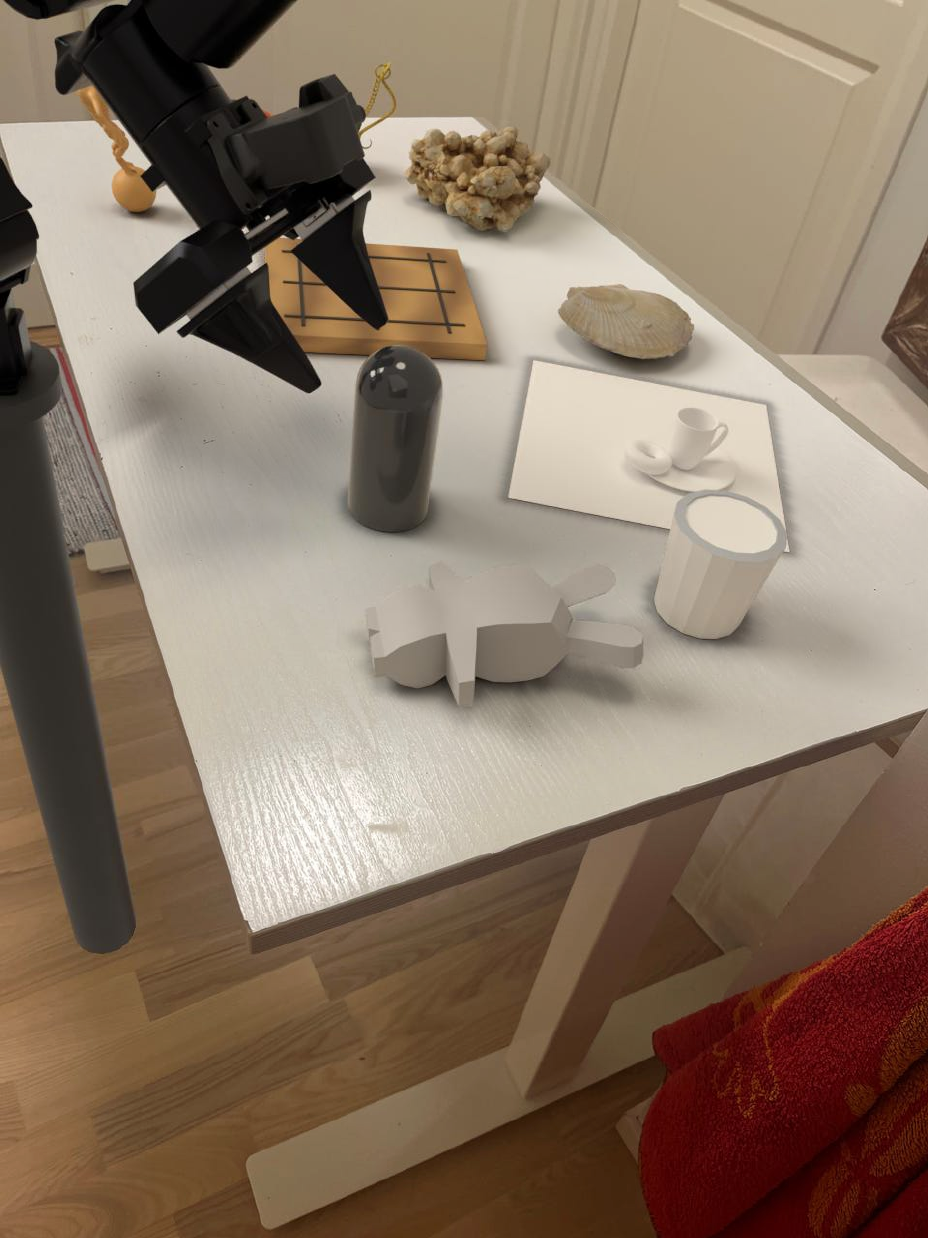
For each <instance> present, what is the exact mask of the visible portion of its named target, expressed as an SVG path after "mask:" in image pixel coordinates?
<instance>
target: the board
mask: <svg viewBox="0 0 928 1238" xmlns="http://www.w3.org/2000/svg"><path fill="white" fill-rule="evenodd" d="M301 242H302V240H301V238H296V239H295V240H292V239H290V238H288V237H280V238H278V239H277V240H275V241H274V242H272V243H271V244H269V245H268V246H266V247H265V248H264V264H265V263H267V264H268V268H269V285H270V298H271V301H272V303H273V306H274V307H275V308H276V310H277V311H278V313H279V314H280V316H281V317H282V319H283V320H284V322H285V323H286V325H287V326H288V328H289V329H290V331H291V333H292V334H293V336H294V337H295V339H296V340H297V342H298V343H299V345H300V346H301V348H302V349H303V351H304V352H305V353H313V354H315V353H317V354H336V355H338V354H340V355H360V356H370V355H371V354H373V353H374V352H375V351H377V350H379V349H381V348H383V347H386V346H391V345H407V346H411V347H414V348H416V349H418V350H420V351H422V352H423V353H425V354H426V355H427V356H428V357H430V359H444V360H445V359H446V360H447V359H449V360H470V361H471V360H472V361H486V357H487V351H488V345H489V344H488V342H487V338H486V334H485V332H484V329H483V326H482V323H481V320H480V319H481V318H480V316H479V313H478V309H477V307H476V304H475V301H474V297H473V295H472V291H471V288H470V284H469V282H468V278H467V276H466V273H465V272H466V271H465V269H464V266H463V263H462V259H461V257H460V254H459V250H458V249H454V248H441V247H425V246H410V245H396V244H395V245H394V244H381V243H366V242H365V243H366V247H367V251H368V255H369V258H370V262H371V265H372V268H373V271H374V274H375V277H376V280H377V284H378V287H379V290H380V293H381V296H382V299H383V302H384V306H385V309H386V312H387V315H388V318H389V320H388V323H387V324H385V325H384V326H382V327H381V328H379V329H374V328H373V327H372V326H370V325H369V324H368V323H367V322H366V321H364V320H363V319H362V318H361V317H359V316H358V315H357V314H356V313H355V312H354V311H353V310H352V309H351V308H350V307H349V306H347V305H346V304H345V303H344V302H343V301H342V300H341V299H340V298H339V297H338V296H337V295H336V294H335V293H334V292H333V291H332V290H331V289H330V288H328V287H327V286H326V285H325V284H324V283H323V282H322V281H321V280H320V279H319V278H318V277H317V276H316V275H315V274H314V273H312V272H311V271H310V270H309V269H308V268H307V267H306V266H305V265H304V264H303V263H302V262H301V261H300V260H299V259H298V258H297V257H296V256H295V255H294V254H292V252H291V250H292V249H293V248H294V247H296V246H297V245H298V244H300V243H301Z"/></svg>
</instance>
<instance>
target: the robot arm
mask: <svg viewBox="0 0 928 1238" xmlns="http://www.w3.org/2000/svg"><path fill="white" fill-rule="evenodd" d="M2 1H3V2H4V3H5V4H6V5H7V6H8V7H10V8H11V9H12V10H13V11H15V12H16V13H18V14H20V15H22V16H24V18H25V17H26V18H28V19H31V20H36V21H39V20H48V19H52V18H55V17H58V16H61V15H65V14H66V15H67V14H70V13H73V12H74V13H75V12H77V11H81V10H85V9H88V8H89V9H90V8H93V7H96V6H100V5H104V4H107V3H111V2H114V1H115V0H2ZM298 1H299V0H129V2H128V3H127V4H119V3H117V4H116V3H115V4H109V5H107V6H104V7H103V8H101V9H100V10H99V12H98V13H97V14H96V16H95V17H94V18H93V19H92V20H91V21H90V23H89V24H88V26H86V28H85V29H84V31H83V30H80V29H79V30H75V31H72V32H69V33H65V34H63V35H59V36H56V37H55V38H54V41H53V42H54V46H55V50H56V63H55V68H54V80H55V81H54V86H55V90H56V91H57V93H59V95H62V96H67V95H70V94H72V93H74V92H77V91H78V90H80V89H83V88H86V87H88V86H91V85H93V86H94V88H95V89H96V90H97V92H98V93H99V95H100V96H101V97H102V99H103V100H104V101H105V103H106V104H107V105H108V107H109V110H110V111H111V112H112V114H113V115H114V116H115V118H116V119H117V120H118V122H119V123H120V124H121V126H122V127H123V128H124V130H125V131H126V132H127V134H128V135H129V136H130V138H131V139H132V141H133V142H134V143H135V144H136V146H137V147H138V149H139V150H140V152H141V153H142V154H143V156H144V157H145V159H146V160H147V161H148V162H149V164H150V165H149V167H148V168H147V169H146V170H145V172H144V173H143V174H142V175H141V176H140V177H141V178H142V179H143V181H144V182H145V183H146V185H147V186H148V187H149V189H150V190H151V191H152V192H154V191H156V192H157V190H159V189H161V188H163V187H165V186H166V187H167V188H168V190H169V191H170V192H171V193H172V195H173V196H174V197H175V199H176V200H177V202H178V204H180V205H181V207H182V208H183V210H184V211H185V212H186V214H187V215H188V216H189V218H190V219H191V220H192V222H193V223H194V225H195V226H196V227H197V228H198V229H197V230H196V231H195V232H193V233H191V234H190V235H187V236H186V237H185V238H183V239H181V240H180V241H178V243H176V244H175V245H174V246H173V247H172V248H170V250H169V251H167V252H166V253H165V254H164V255H163V256H161V257H160V258H159V259H158V260H157V261H156V262H155V263H154V264H152V266H150V267H149V268H148V269H147V270H146V271H144V272H143V274H140V276H138V278H137V279H135V281H133V294H134V303H135V307H136V308H137V309H138V310H139V312H140V313H141V314H142V316H143V317H144V318H145V320H146V321H147V322H148V323H149V324H150V325H151V327H152V328H153V330H154V331H155V332H156V334H158V335H160V334H161V333H163V332H164V331H166V330H167V329H169V328H170V327H172V326H173V325H175V324H176V323H177V322H178V321H180V320H182V319H183V318H184V317H187V318H188V319H189V320H188V321H187V322H186V323H185V324H184V325H183V326H181V327H180V328H178V329H177V330H176V334H177V335H179V337H181V338H182V339H185V338H187V336H194V337H196V338H198V339H200V340H203V341H205V342H207V343H209V344H211V345H214V346H216V347H218V348H220V349H222V350H225V351H227V352H229V353H230V354H233V355H236V356H237V357H240V358H242V359H244V360H245V361H247V362H249V363H251V364H253V365H254V366H257V367H258V368H260V369H262V370H264V371H266V372H267V373H269V374H271V375H272V376H275V377H276V378H278V379H280V380H282V381H283V382H285V383H287V384H289V385H291V386H293V387H294V388H296V389H298V390H300V391H302V392H304V393H305V394H311V393H314V392H315V391H316V390H318V389H319V388H321V386H322V380H321V378H320V377H319V375H318V373H317V371H316V369H315V368H314V365H313V364H312V362H311V360H310V358H309V357H308V355H307V354H306V352H304V351H303V349H302V348H301V346H300V345H299V343H298V342H297V340H296V339H295V337H294V336H293V334H292V333H291V331H290V329H289V328H288V326H287V325H286V323H285V322H284V320H283V319H282V317H281V316H280V314H279V313H278V311H277V310H276V308H275V307H274V306H273V303H272V301H271V298H270V285H269V268H268V264H267V263H265V262H264V264H262V265H261V266H259V267H258V268H257V269H255V270H254V271H251V270H250V269H249V266H250V265H251V264H252V263H253V256H255V255H256V254H258V253H259V252H260V251H262V250H263V249H264V250H265V247H266V246H268V245H269V244H271V243H272V242H274V241H275V240H277V239H278V238H282V237H285V238H290V239H292V240H295V239H301V240H302V242H301V243H300V244H298V245H297V246H296V247H294V248H293V249H292V250H291V252H292V254H294V255H295V256H296V257H297V258H298V259H299V260H300V261H301V262H302V263H303V264H304V265H305V266H306V267H307V268H308V269H309V270H310V271H311V272H312V273H314V274H315V275H316V276H317V277H318V278H319V279H320V280H321V281H322V282H323V283H324V284H325V285H326V286H327V287H328V288H330V289H331V290H332V291H333V292H334V293H335V294H336V295H337V296H338V297H339V298H340V299H341V300H342V301H343V302H344V303H345V304H346V305H347V306H349V307H350V308H351V309H352V310H353V311H354V312H355V313H356V314H357V315H358V316H359V317H361V318H362V319H363V320H364V321H366V322H367V323H368V324H369V325H370V326H372V327H373V328H374V329H379V328H381V327H382V326H384V325H385V324H387V323H388V320H389V318H388V315H387V312H386V309H385V306H384V302H383V299H382V296H381V293H380V290H379V287H378V284H377V280H376V277H375V274H374V271H373V268H372V265H371V262H370V258H369V255H368V251H367V247H366V239H365V236H364V225H365V219H366V213H367V209H368V204H369V202H371V201H372V190H371V189H369V190H368V191H366V192H365V193H363V194H362V195H360V196H359V197H357V198H356V199H355V198H354V197H353V196H354V195H356V194H357V193H359V191H361V190H362V189H364V188H365V187H366V186H367V185H369V184H370V183H371V182H372V181H374V179H375V178H376V177H377V176H376V175H375V174H374V173H373V172H374V171H372V169H371V168H370V167H369V165H368V163H367V161H366V160H365V156H366V154H365V151H364V149H363V147H364V146H363V144H362V141H361V138H359V135H358V132H360V131H361V129H362V128H361V127H362V124H363V123H365V121H366V118H367V116H366V113H367V112H366V111H365V108H364V107H363V106H362V105H361V104H357V101H356V99H355V97H354V96H353V92H352V91H349V89H348V87H346V86H345V85H344V83H343V82H342V80H341V79H340V78H339V77H338V76H337V75H336V73H333V74H329V75H326V76H323V77H319V78H316V79H313V80H311V81H309V82H307V83H304V84H303V85H301V86H300V87H299V91H298V106H295V107H292V108H290V109H288V110H286V111H284V112H281V113H277V114H273V115H274V116H270V117H267V116H266V115H265V114H264V112H263V111H262V110H263V109H262V108H261V106H260V105H259V103H258V102H257V101H256V100H255V99H253V98H249V96H248V95H244V96H242V97H240V98H238V99H235V100H236V101H234V102H232V101H231V99H232V98H230V96H229V95H228V93H227V91H225V90H226V89H224V87H222V85H221V83H220V82H219V80H218V79H217V78H216V76H215V74H214V73H213V72H212V70H211V68H210V67H212V68H214V69H218V70H221V69H224V70H227V69H228V70H229V69H231V68H233V67H234V66H235V65H236V64H237V63H238V62H239V61H240V60H241V59H242V58H244V56H245V55H246V54H248V52H249V51H250V50H251V49H252V48H253V47H254V46H255V45H256V44H257V43H258V42H259V40H261V39H262V37H264V36H265V35H266V34H267V33H268V31H270V30H271V28H272V27H273V26H274V25H275V24H276V23H277V22H278V21H279V20H280V19H281V18H282V17H283V16H284V15H285V14H286V13H287V12H288V11H289V10H291V8H292V7H293V6H294V5H295V4H296V3H297V2H298ZM362 146H363V147H362ZM32 208H33V203H32V202H31V201H30V200H29V199H28V198H27V197H26V196H25V195H24V194H23V193H22V192H21V190H20V189H19V187H18V186H17V185H16V183H15V181H14V180H13V177H12V176H11V174H10V172H9V170H8V167H7V166H6V163H5V161H4V160H3V158H2V157H1V156H0V395H5V396H13V395H16V394H18V392H19V389H20V386H21V383H22V380H23V377H24V376H26V375H27V374H28V371H29V368H30V365H31V361H32V358H33V356H32V351H31V345H30V341H31V340H30V335H29V329H28V323H27V319H26V313H25V311H24V309H23V308H21V307H16V303H15V298H14V292H13V288H16V287H17V286H19V285H24V284H26V283H28V282H29V280H30V273H31V267H32V264H33V263H34V262H35V259H36V256H37V254H38V240H40V233H39V231H38V227H37V224H36V222H35V220H34V218H33V216H32V214H31V212H30V211H29V210H30V209H32ZM267 217H268V218H267ZM266 218H267V219H266ZM245 228H246V230H247V232H244V231H243V230H244V229H245Z"/></svg>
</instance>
